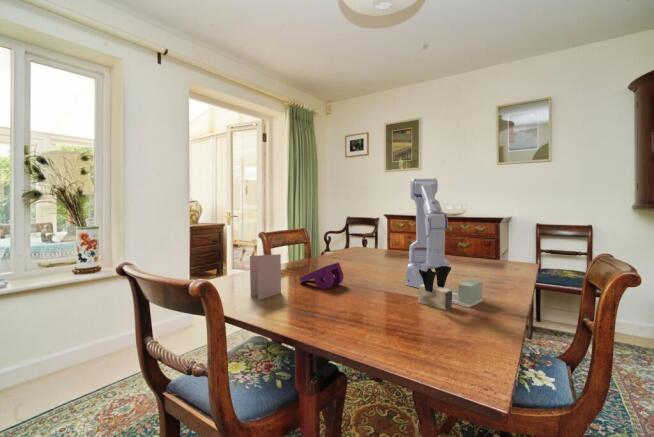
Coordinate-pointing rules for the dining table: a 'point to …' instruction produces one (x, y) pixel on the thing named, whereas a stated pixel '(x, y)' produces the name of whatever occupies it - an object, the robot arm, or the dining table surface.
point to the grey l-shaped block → (467, 293)
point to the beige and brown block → (435, 297)
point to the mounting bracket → (325, 276)
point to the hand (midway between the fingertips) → (434, 289)
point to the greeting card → (265, 275)
